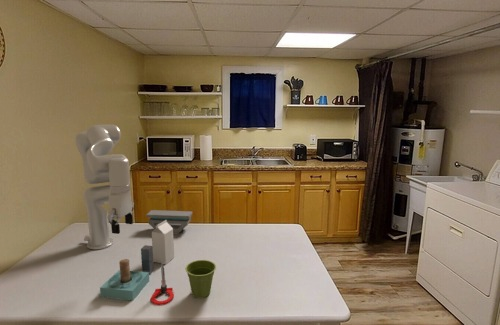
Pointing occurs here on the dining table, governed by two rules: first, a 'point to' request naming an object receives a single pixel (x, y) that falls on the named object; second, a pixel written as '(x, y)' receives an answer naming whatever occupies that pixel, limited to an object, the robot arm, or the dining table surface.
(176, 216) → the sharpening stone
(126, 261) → the walnut dowel
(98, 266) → the dining table surface
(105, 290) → the bore block
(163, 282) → the tow hook
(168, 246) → the milk carton
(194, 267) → the plant pot
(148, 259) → the steel square bar
